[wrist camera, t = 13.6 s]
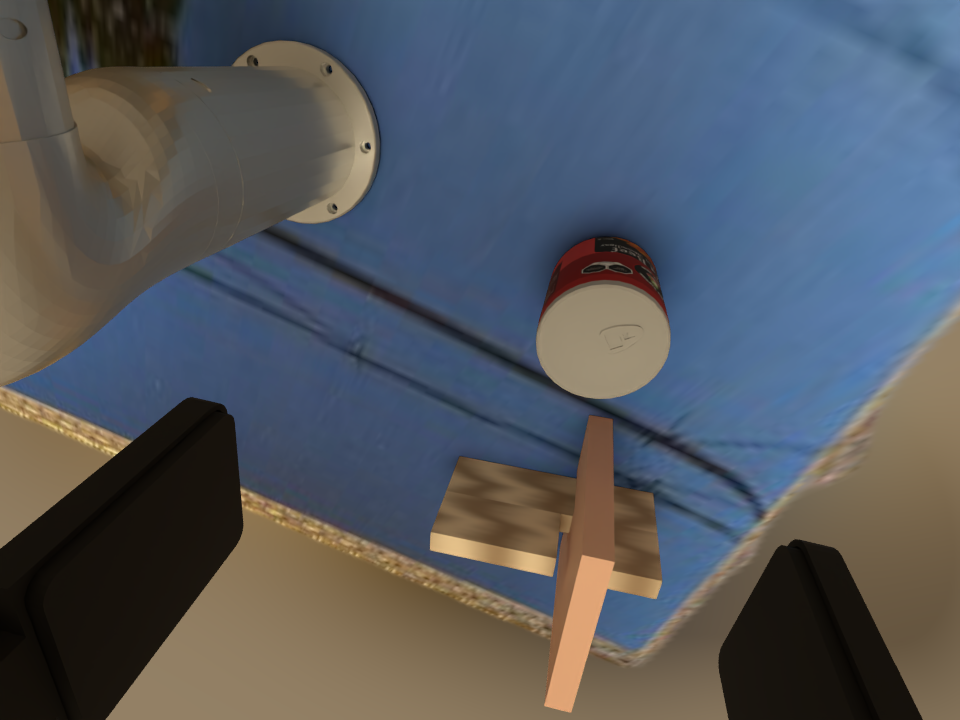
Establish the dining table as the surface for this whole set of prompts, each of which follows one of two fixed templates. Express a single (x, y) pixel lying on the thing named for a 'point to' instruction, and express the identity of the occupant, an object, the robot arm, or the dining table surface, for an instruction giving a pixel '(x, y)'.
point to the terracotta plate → (583, 566)
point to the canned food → (603, 320)
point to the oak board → (540, 523)
